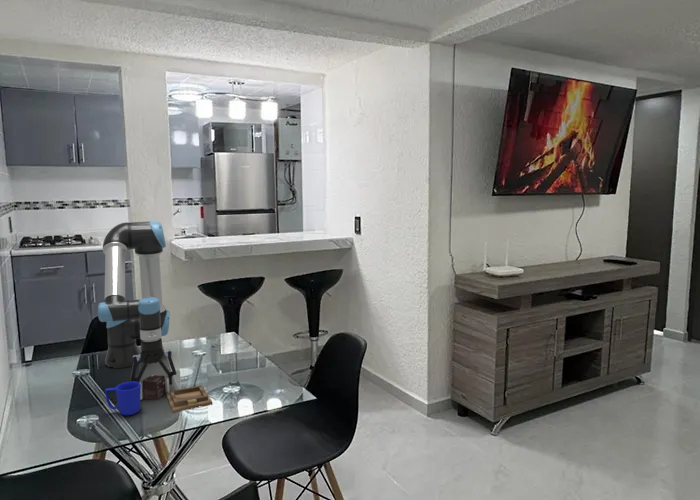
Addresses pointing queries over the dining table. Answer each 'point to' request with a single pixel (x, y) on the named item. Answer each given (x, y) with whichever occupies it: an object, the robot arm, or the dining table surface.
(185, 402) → the brown tray
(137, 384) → the mug
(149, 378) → the box
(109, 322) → the robot arm
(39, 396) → the dining table surface
